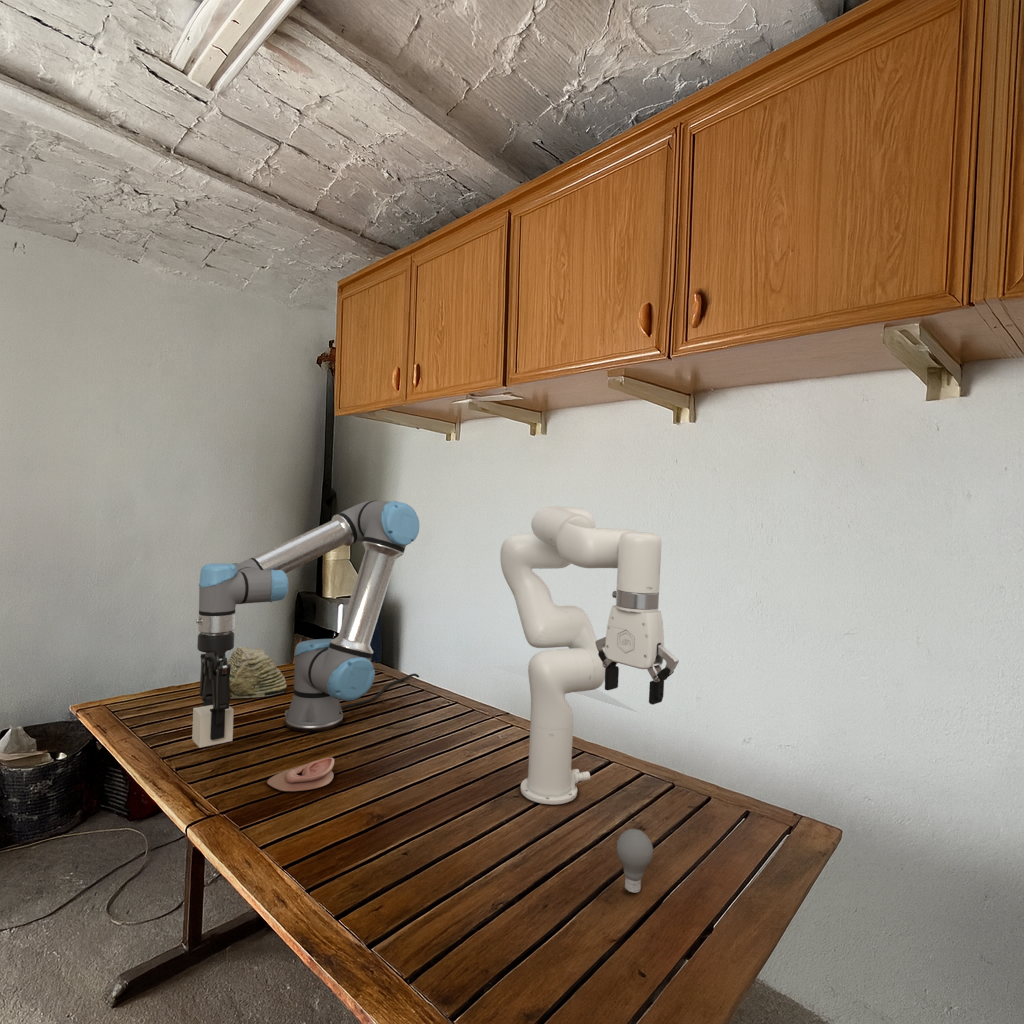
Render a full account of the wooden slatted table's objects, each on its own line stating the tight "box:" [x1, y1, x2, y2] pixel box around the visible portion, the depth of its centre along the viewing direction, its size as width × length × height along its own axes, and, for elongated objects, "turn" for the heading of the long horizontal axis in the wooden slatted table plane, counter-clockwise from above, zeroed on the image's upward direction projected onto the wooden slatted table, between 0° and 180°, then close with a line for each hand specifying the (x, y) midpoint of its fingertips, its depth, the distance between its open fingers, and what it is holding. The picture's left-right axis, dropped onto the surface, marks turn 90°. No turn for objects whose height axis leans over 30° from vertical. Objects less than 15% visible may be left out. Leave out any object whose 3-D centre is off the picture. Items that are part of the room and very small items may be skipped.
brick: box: [191, 705, 235, 749], centre depth 143 cm, size 6×7×7 cm
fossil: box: [227, 646, 288, 699], centre depth 198 cm, size 9×18×15 cm, turn 132°
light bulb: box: [615, 828, 654, 894], centre depth 106 cm, size 6×6×10 cm
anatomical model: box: [266, 757, 335, 792], centre depth 140 cm, size 13×4×12 cm
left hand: (212, 733), depth 143 cm, fingers closed on brick, 6 cm apart
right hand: (632, 695), depth 114 cm, fingers open, 9 cm apart
